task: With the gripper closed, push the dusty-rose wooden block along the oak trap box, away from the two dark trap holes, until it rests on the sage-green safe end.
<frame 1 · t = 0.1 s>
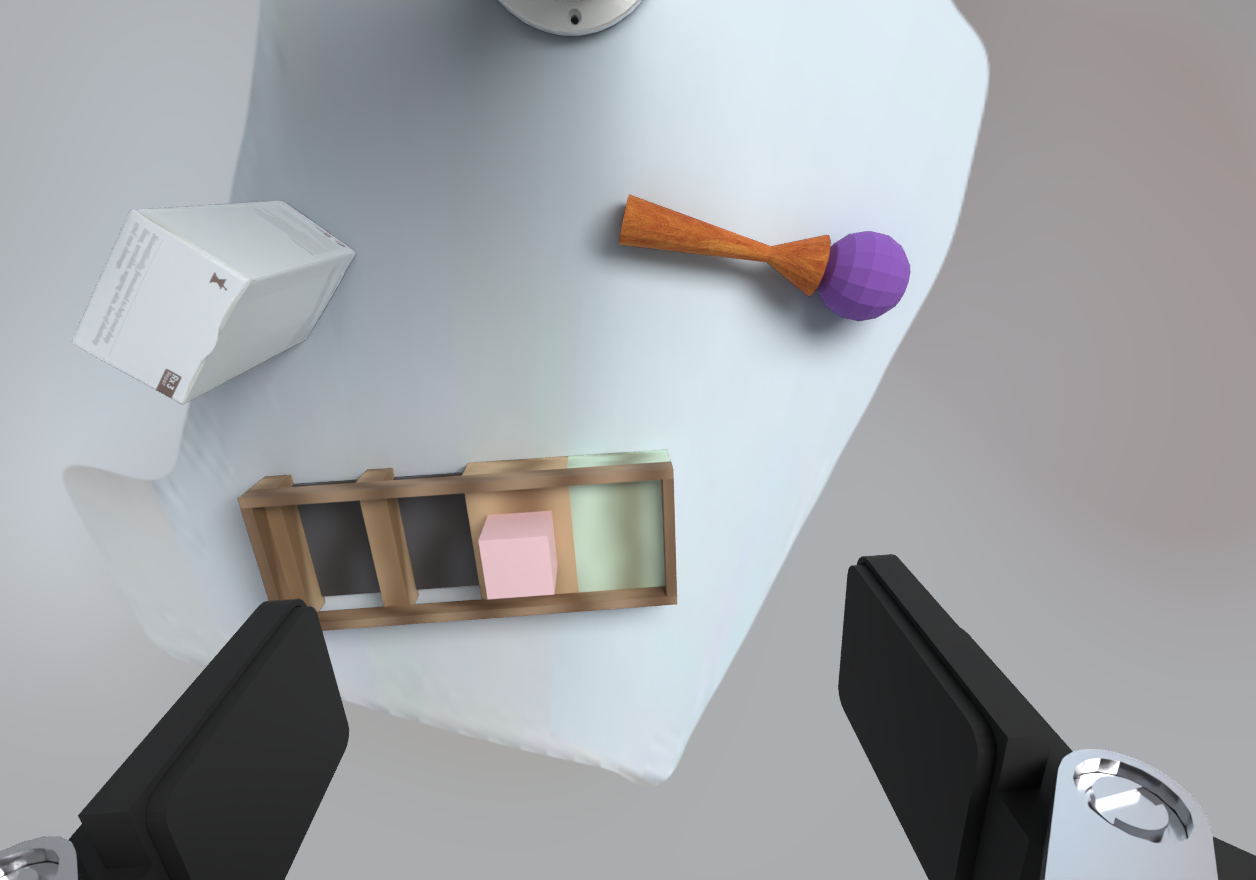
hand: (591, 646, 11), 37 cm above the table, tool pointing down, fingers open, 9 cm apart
rose block: (523, 540, 48), point 2 cm above the table, touching trap box
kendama: (755, 251, 44), on the table
skincare box: (297, 277, 43), on the table
trap box: (478, 529, 51), on the table
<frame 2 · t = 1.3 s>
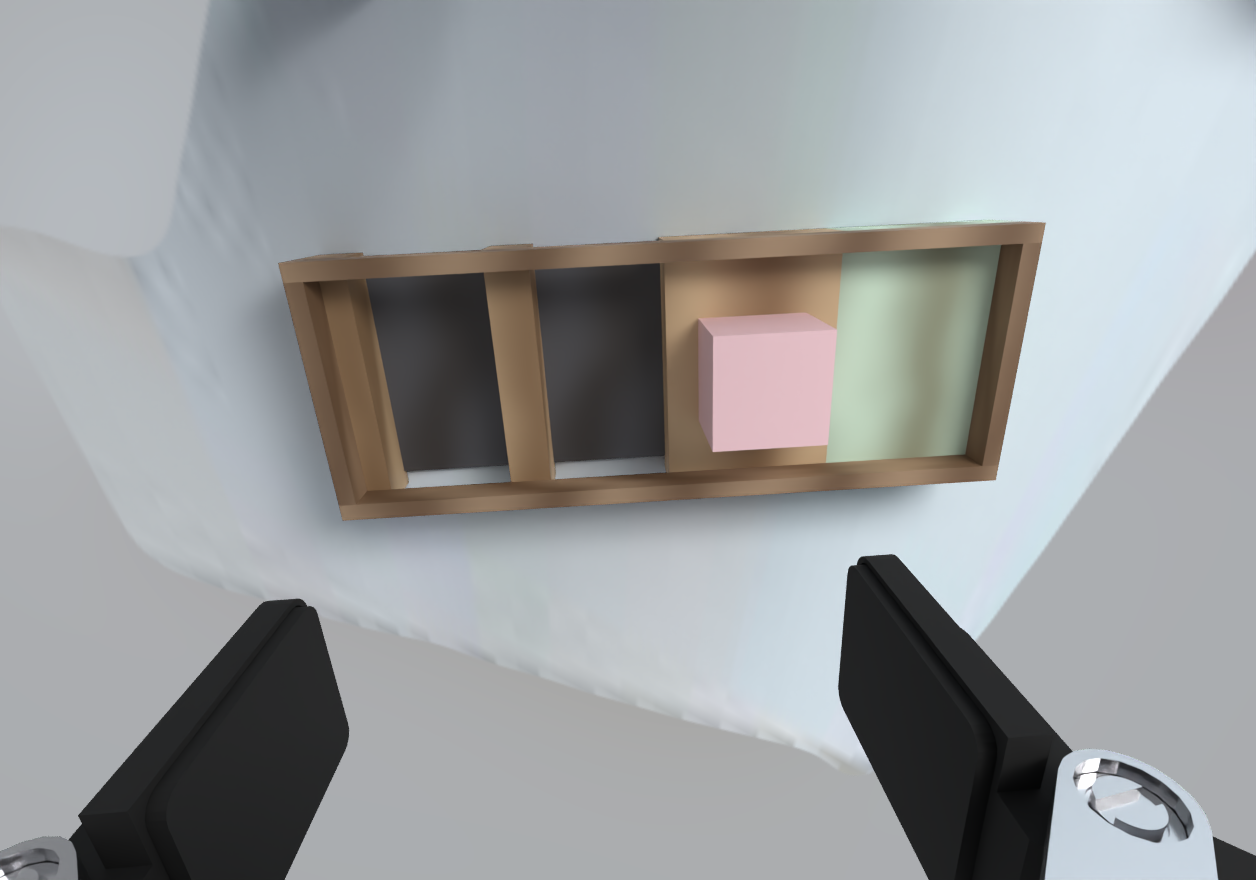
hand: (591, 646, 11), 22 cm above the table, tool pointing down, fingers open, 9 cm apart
rose block: (750, 368, 29), point 2 cm above the table, touching trap box
trap box: (662, 360, 31), on the table
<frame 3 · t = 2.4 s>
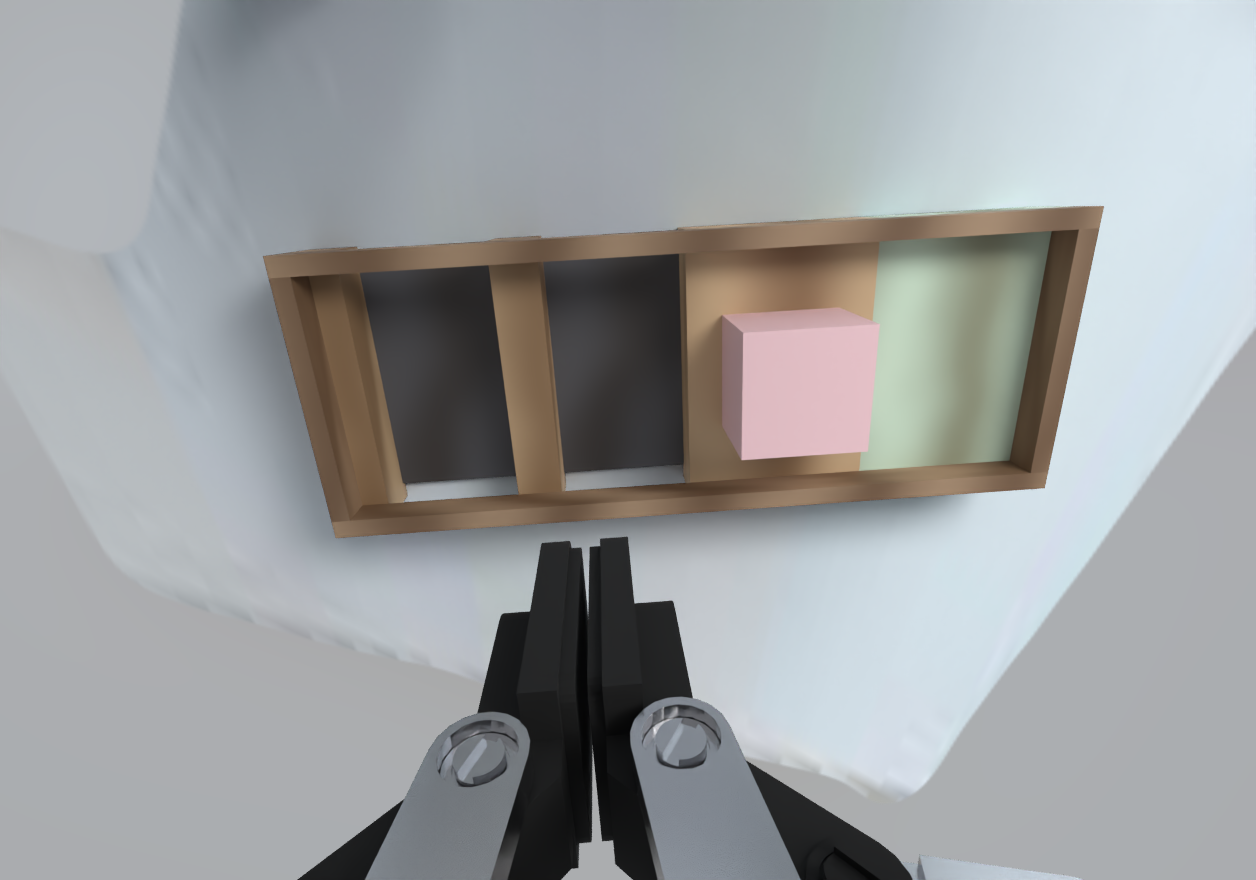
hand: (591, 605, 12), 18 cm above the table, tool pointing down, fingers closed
rose block: (778, 368, 27), point 2 cm above the table, touching trap box
trap box: (680, 361, 29), on the table
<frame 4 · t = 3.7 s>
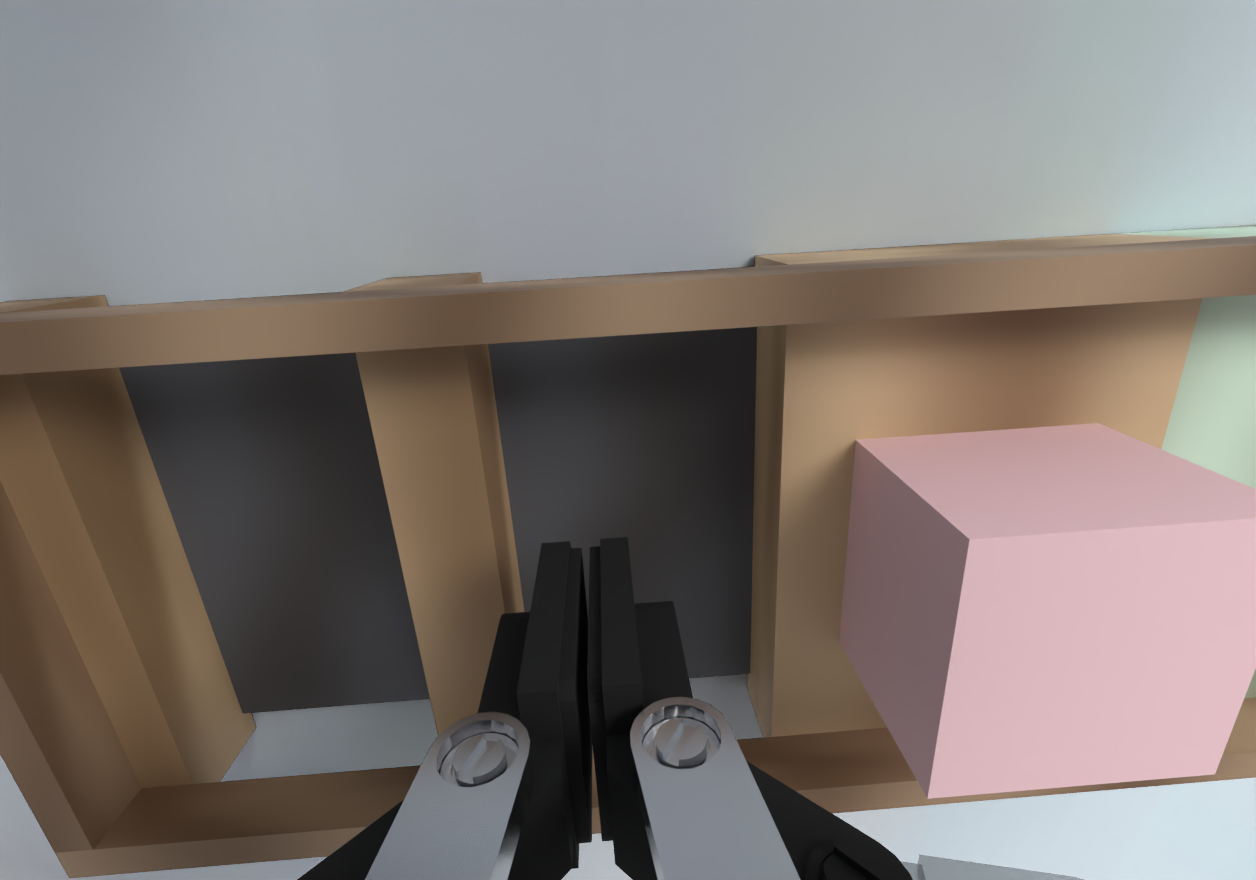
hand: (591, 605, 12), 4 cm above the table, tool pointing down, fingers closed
rose block: (960, 539, 13), point 2 cm above the table, touching trap box
trap box: (750, 501, 15), on the table
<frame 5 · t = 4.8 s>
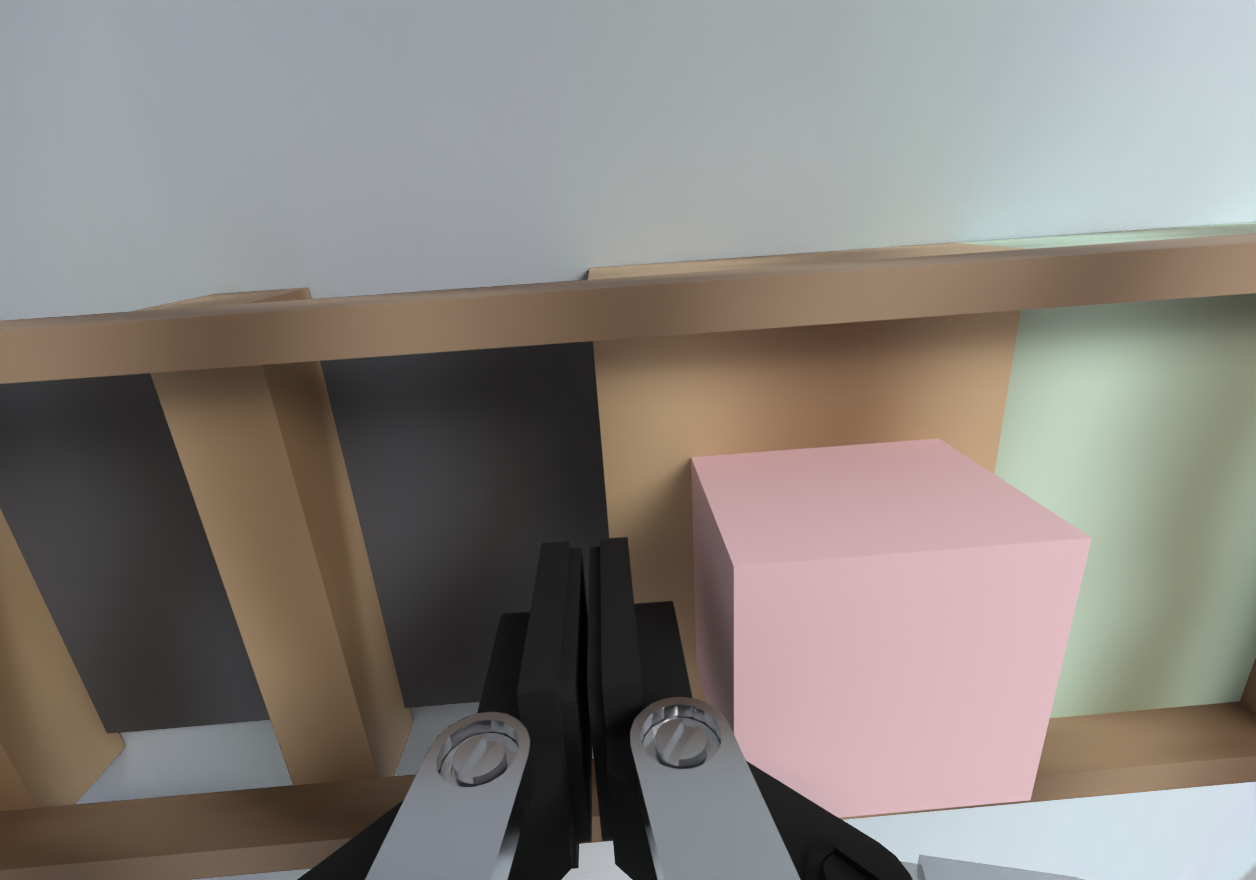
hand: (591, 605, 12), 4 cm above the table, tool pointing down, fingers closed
rose block: (810, 556, 13), point 3 cm above the table, touching gripper
trap box: (609, 515, 15), on the table
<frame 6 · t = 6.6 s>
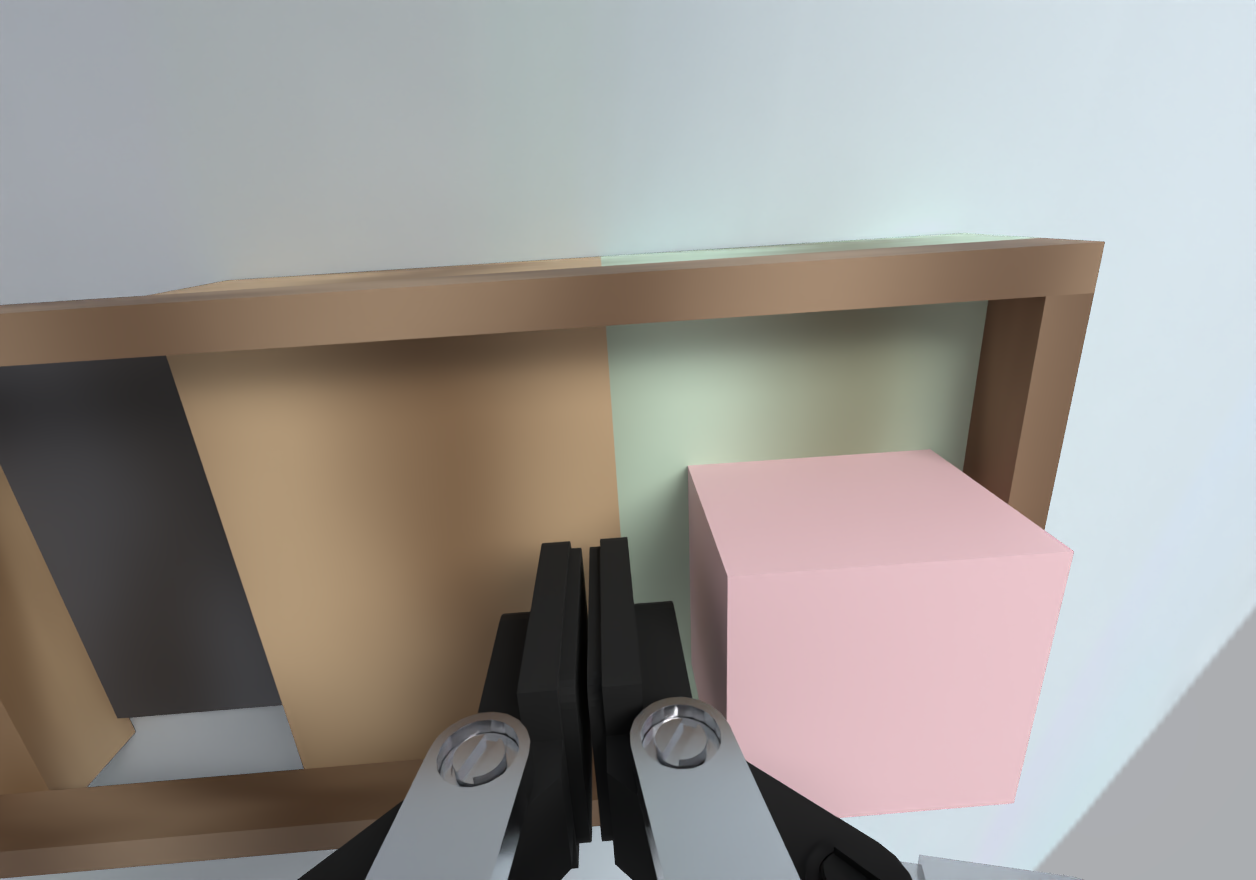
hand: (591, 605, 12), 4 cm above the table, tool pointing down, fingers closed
rose block: (803, 563, 13), point 2 cm above the table, touching gripper, trap box
trap box: (297, 527, 15), on the table
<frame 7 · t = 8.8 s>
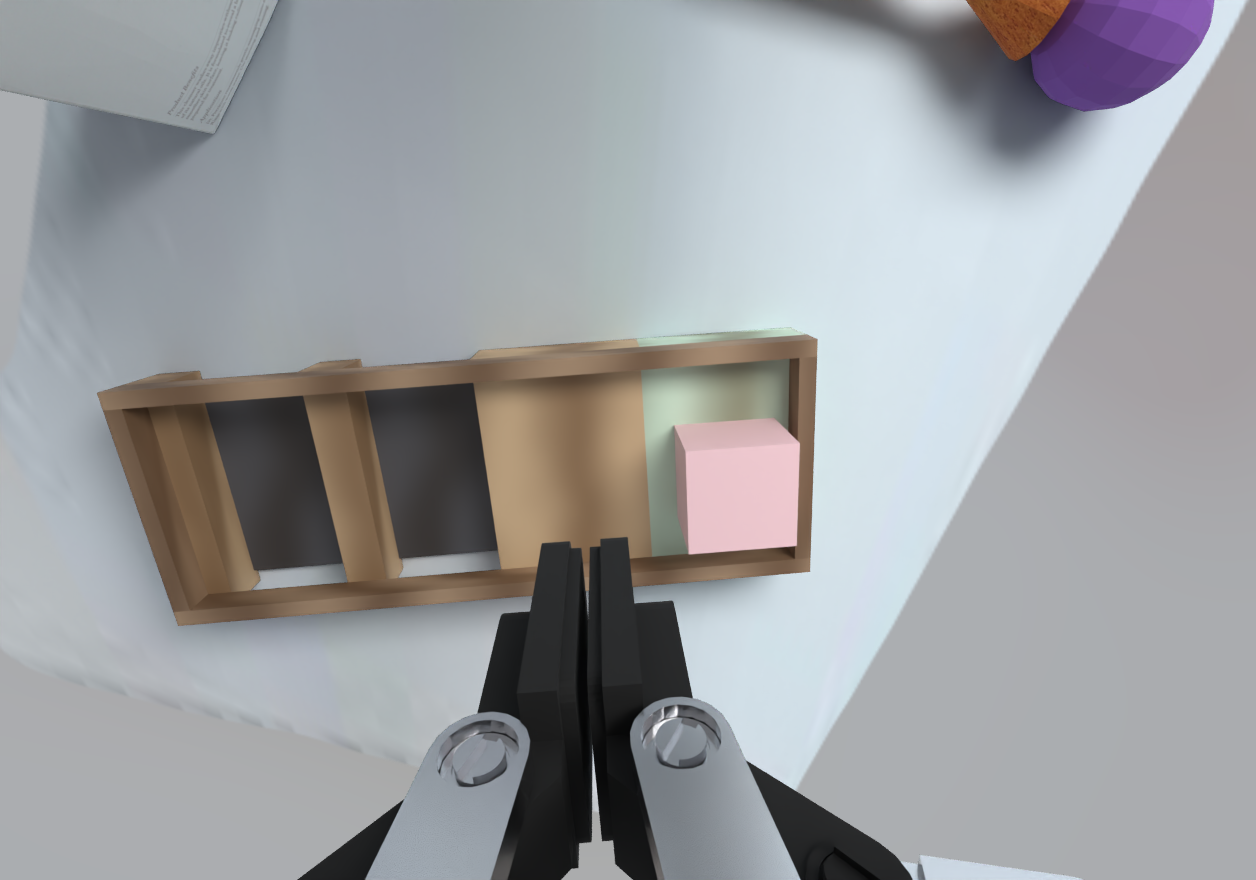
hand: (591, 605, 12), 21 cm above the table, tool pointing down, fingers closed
rose block: (724, 468, 31), point 2 cm above the table, touching trap box
skincare box: (197, 20, 26), on the table
trap box: (495, 460, 33), on the table
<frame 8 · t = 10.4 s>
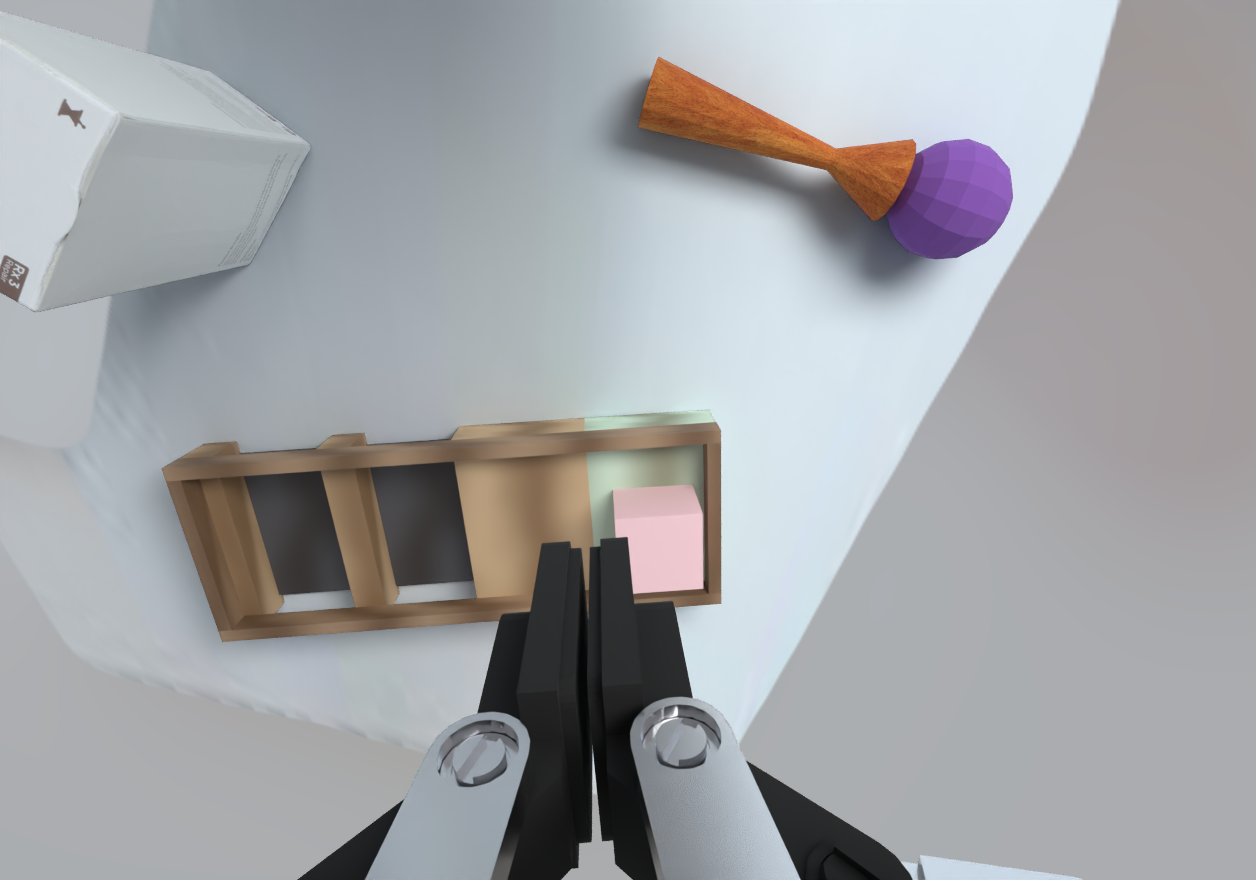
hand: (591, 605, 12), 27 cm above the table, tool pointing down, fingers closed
rose block: (653, 522, 39), point 2 cm above the table, touching trap box
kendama: (809, 161, 35), on the table
skincare box: (236, 180, 33), on the table
trap box: (472, 510, 41), on the table
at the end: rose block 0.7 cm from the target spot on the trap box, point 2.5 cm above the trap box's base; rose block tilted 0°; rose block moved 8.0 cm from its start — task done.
